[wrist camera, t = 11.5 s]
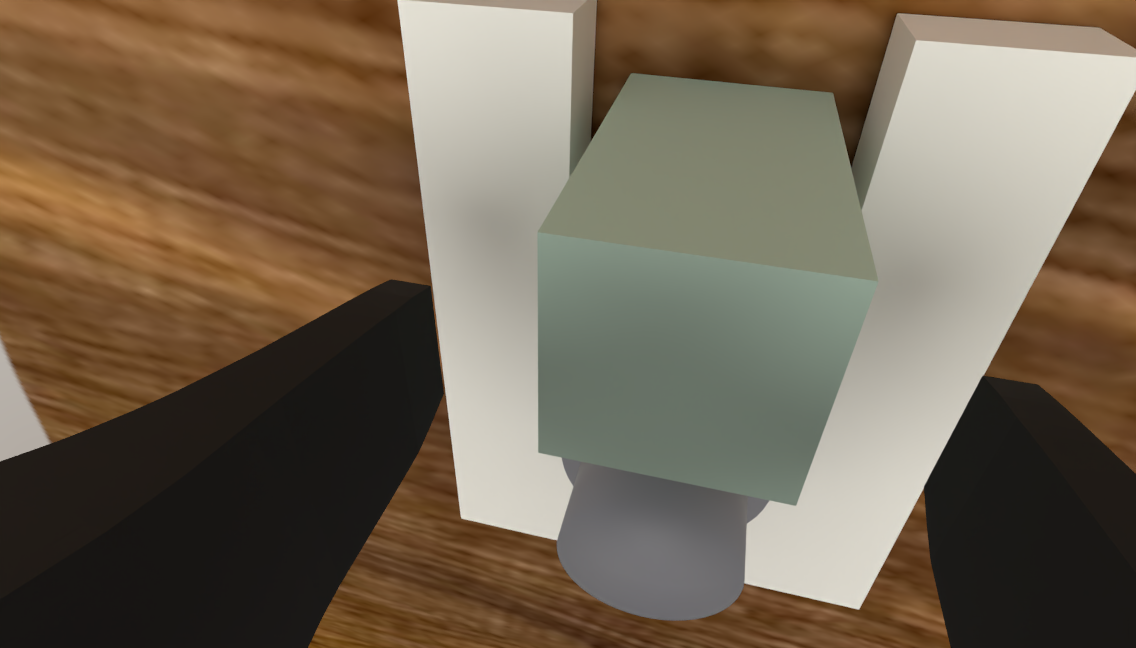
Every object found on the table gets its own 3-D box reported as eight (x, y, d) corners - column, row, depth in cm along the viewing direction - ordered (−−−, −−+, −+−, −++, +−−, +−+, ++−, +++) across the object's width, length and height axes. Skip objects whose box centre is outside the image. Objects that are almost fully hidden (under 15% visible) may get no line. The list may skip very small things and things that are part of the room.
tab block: (787, 266, 15) (795, 506, 10) (617, 242, 16) (538, 452, 11) (832, 93, 13) (878, 280, 7) (631, 72, 14) (537, 231, 8)
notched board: (852, 549, 20) (873, 741, 16) (482, 470, 22) (414, 621, 18) (1099, 27, 11) (1301, 146, 7) (441, -20, 13) (284, 48, 9)
